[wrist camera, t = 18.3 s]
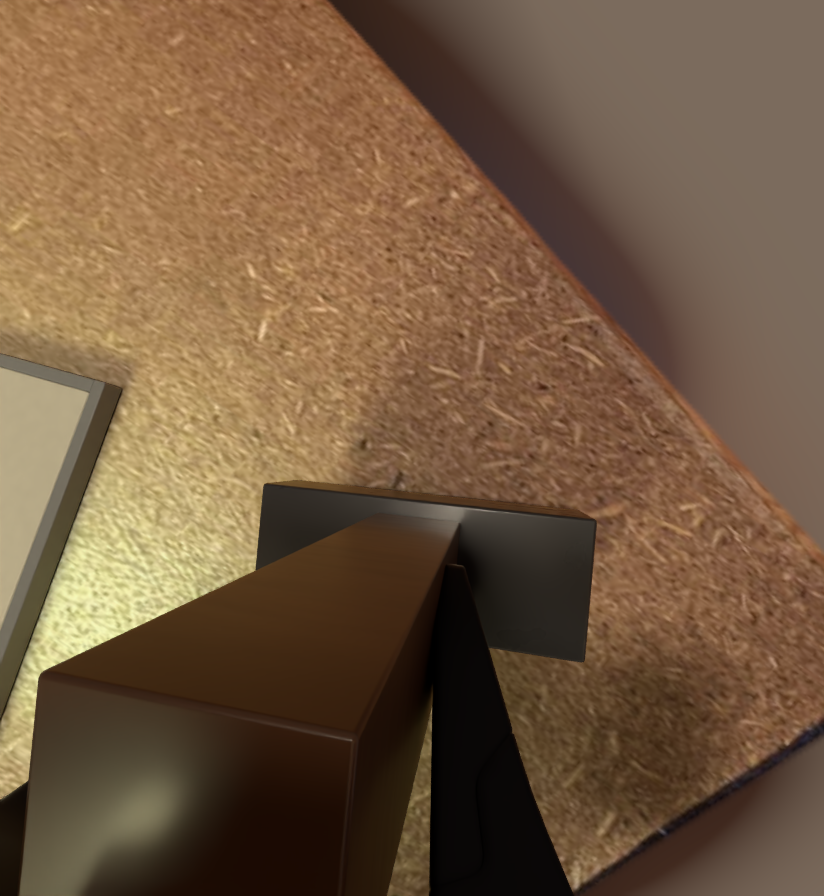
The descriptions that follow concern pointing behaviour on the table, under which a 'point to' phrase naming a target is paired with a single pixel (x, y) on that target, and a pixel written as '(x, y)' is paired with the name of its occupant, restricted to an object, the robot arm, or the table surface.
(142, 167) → the table surface
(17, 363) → the whiteboard
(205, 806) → the brown rubber stamp
